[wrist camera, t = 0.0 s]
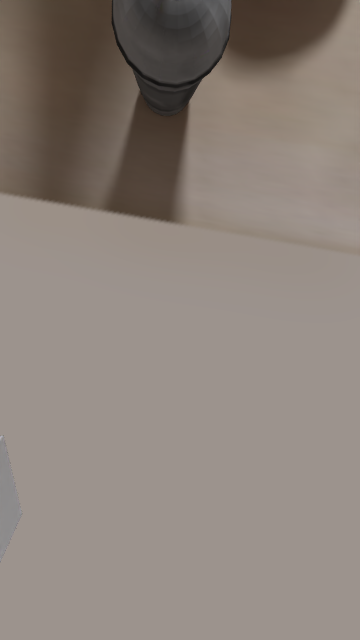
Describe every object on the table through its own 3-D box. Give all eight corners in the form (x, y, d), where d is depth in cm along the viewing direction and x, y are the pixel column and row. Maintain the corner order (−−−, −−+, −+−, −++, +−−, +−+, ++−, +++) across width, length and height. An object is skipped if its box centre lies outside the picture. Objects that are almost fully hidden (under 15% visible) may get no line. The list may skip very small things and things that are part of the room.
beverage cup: (146, 144, 33) (133, 40, 14) (113, 62, 31) (44, -195, 12) (216, 113, 33) (302, -38, 14) (187, 27, 31) (241, -293, 12)
